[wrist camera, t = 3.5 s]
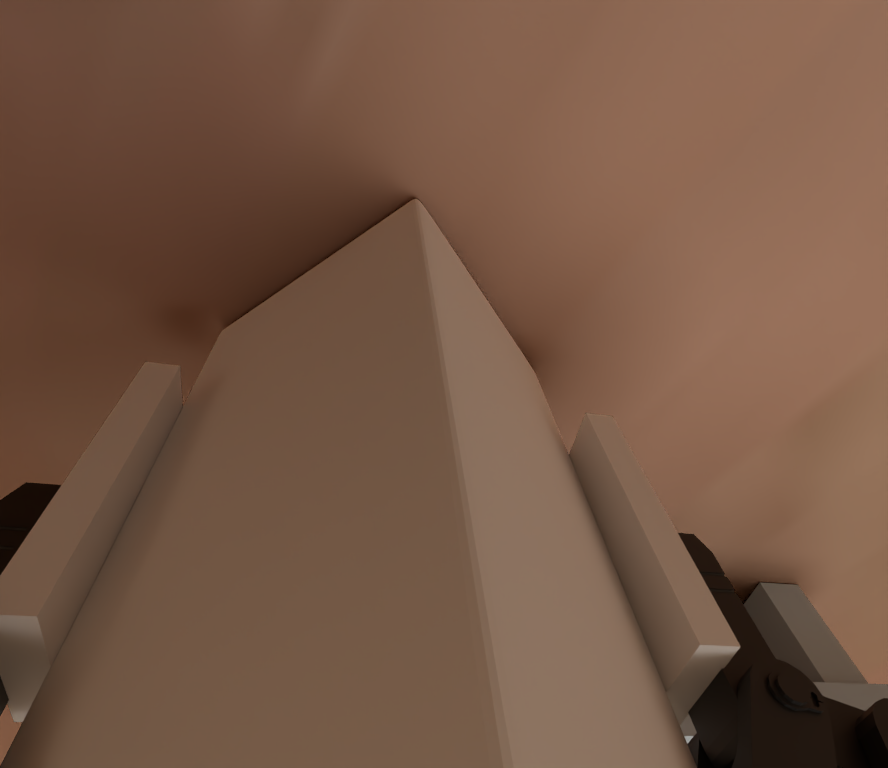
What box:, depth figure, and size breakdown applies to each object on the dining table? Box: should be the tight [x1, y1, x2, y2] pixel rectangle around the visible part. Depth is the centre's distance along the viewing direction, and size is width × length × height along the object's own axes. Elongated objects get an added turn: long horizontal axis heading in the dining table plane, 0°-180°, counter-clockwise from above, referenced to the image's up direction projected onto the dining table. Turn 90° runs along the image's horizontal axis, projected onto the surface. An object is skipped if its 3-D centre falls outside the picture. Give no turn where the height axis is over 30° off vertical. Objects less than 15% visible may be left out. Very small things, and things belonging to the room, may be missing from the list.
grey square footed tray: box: [680, 582, 888, 744], centre depth 27 cm, size 20×20×7 cm
